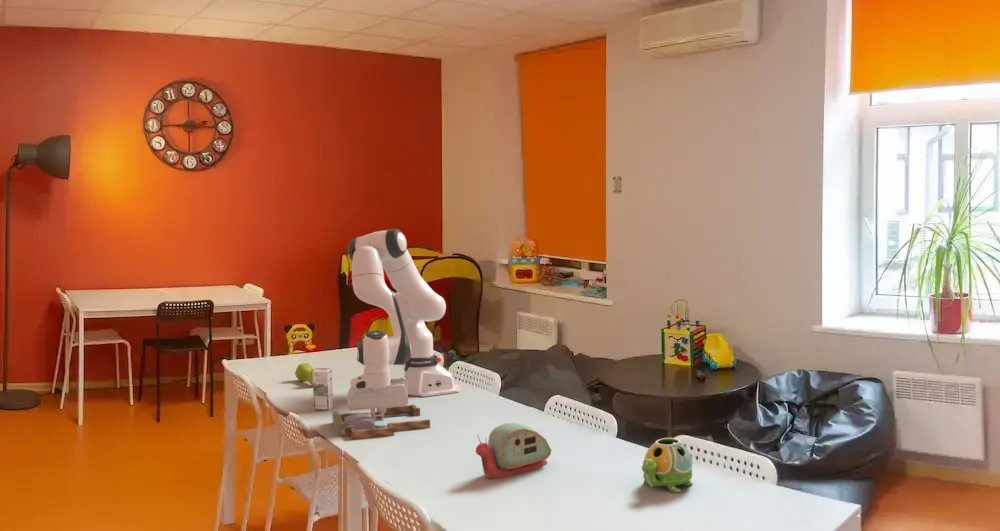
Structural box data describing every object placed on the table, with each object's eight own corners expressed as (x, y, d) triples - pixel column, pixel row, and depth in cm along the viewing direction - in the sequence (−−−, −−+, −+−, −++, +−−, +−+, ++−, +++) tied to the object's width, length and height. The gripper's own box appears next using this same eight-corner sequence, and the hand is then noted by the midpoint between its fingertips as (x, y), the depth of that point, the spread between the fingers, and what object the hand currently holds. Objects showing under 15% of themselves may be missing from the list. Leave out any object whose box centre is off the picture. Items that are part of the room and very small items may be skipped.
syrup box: (333, 406, 327) (332, 367, 326) (329, 410, 322) (327, 370, 320) (318, 406, 328) (316, 367, 327) (313, 410, 322) (311, 370, 321)
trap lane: (416, 411, 319) (416, 400, 318) (433, 431, 293) (432, 419, 293) (331, 419, 310) (330, 407, 310) (340, 440, 285) (339, 428, 284)
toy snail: (537, 459, 263) (537, 412, 262) (555, 465, 257) (554, 418, 256) (469, 478, 248) (468, 429, 246) (486, 485, 242) (485, 434, 240)
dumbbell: (329, 385, 361) (328, 368, 360) (310, 388, 356) (309, 370, 356) (312, 378, 374) (311, 361, 373) (294, 381, 370) (293, 364, 369)
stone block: (348, 439, 293) (378, 430, 296) (345, 425, 292) (374, 416, 295) (343, 430, 304) (372, 422, 307) (340, 417, 304) (368, 408, 306)
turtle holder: (624, 491, 235) (623, 446, 234) (662, 473, 249) (662, 431, 247) (664, 502, 227) (664, 456, 226) (701, 483, 240) (702, 439, 239)
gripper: (406, 375, 306) (407, 415, 307) (345, 380, 300) (347, 421, 302) (409, 379, 300) (410, 420, 301) (348, 384, 294) (349, 426, 296)
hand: (378, 420), depth 301 cm, fingers closed
